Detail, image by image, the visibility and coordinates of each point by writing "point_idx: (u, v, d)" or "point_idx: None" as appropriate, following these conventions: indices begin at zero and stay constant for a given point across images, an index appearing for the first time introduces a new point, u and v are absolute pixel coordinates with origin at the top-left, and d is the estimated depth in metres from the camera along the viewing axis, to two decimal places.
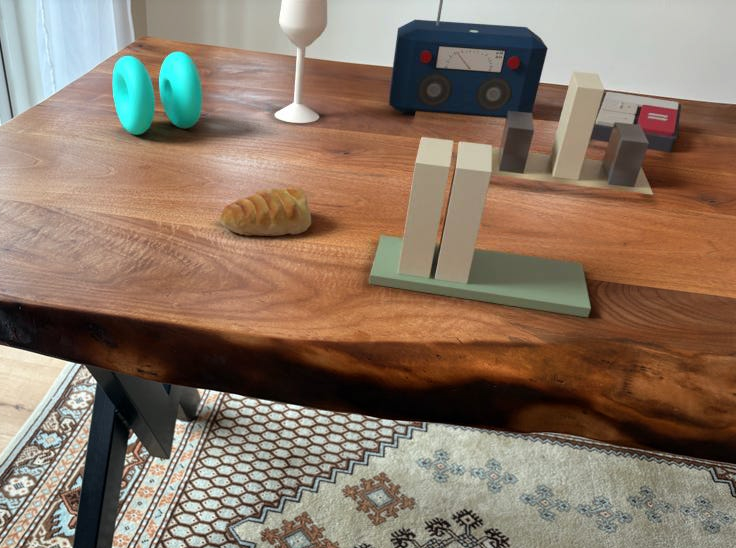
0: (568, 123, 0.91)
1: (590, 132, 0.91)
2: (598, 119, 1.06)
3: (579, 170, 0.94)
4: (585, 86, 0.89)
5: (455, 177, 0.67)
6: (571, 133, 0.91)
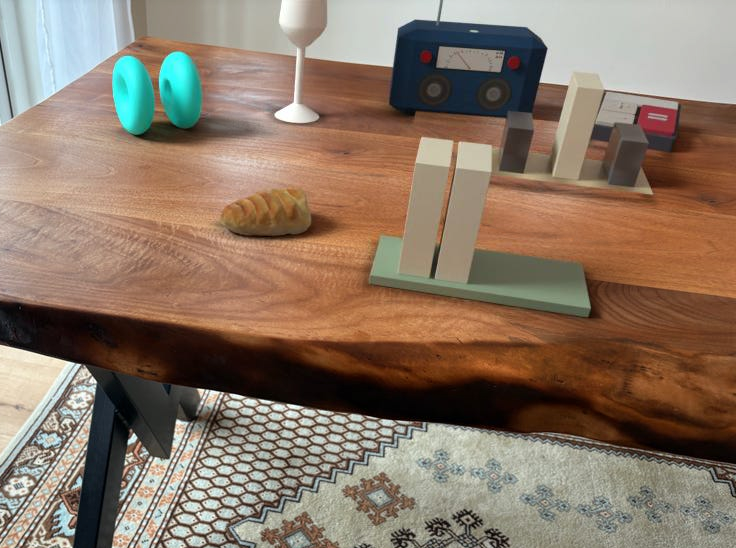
0: (568, 123, 0.91)
1: (590, 132, 0.91)
2: (598, 119, 1.06)
3: (579, 170, 0.94)
4: (585, 86, 0.89)
5: (455, 177, 0.67)
6: (571, 133, 0.91)
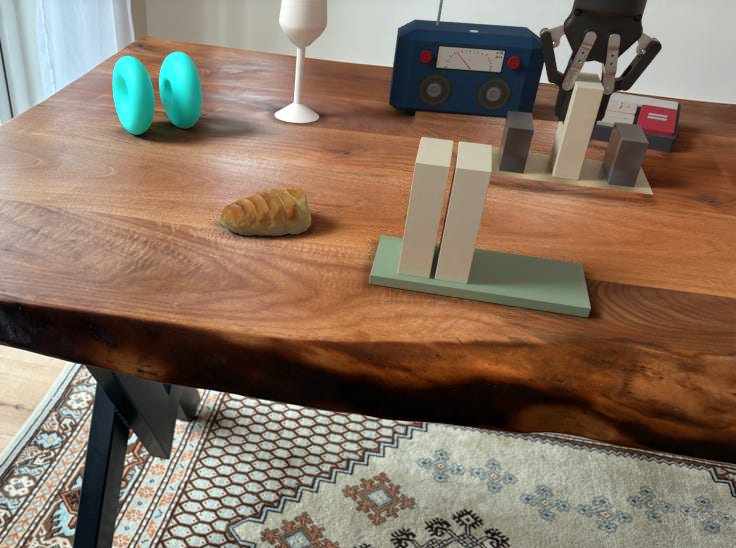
0: (568, 123, 0.91)
1: (590, 132, 0.91)
2: None
3: (579, 170, 0.94)
4: (585, 86, 0.89)
5: (455, 177, 0.67)
6: (571, 133, 0.91)
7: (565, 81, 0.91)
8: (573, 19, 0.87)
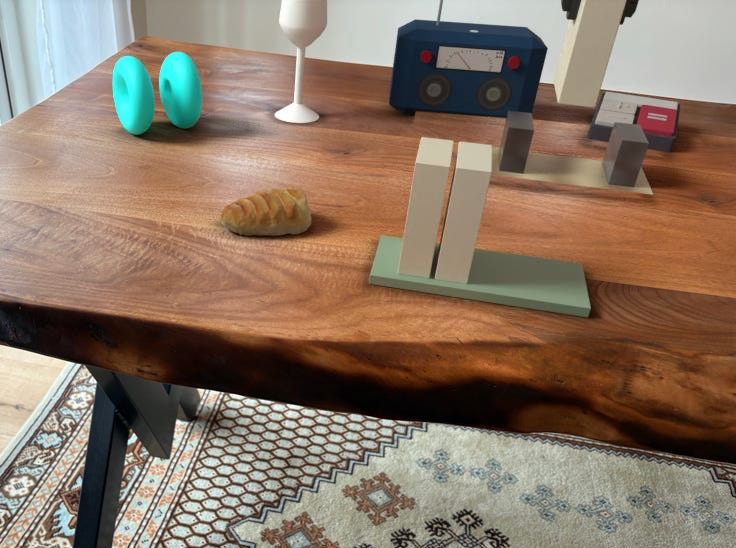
0: (582, 18, 0.61)
1: (615, 31, 0.60)
2: (597, 119, 1.06)
3: (597, 92, 0.63)
4: None
5: (455, 177, 0.67)
6: (586, 34, 0.61)
7: None
8: None
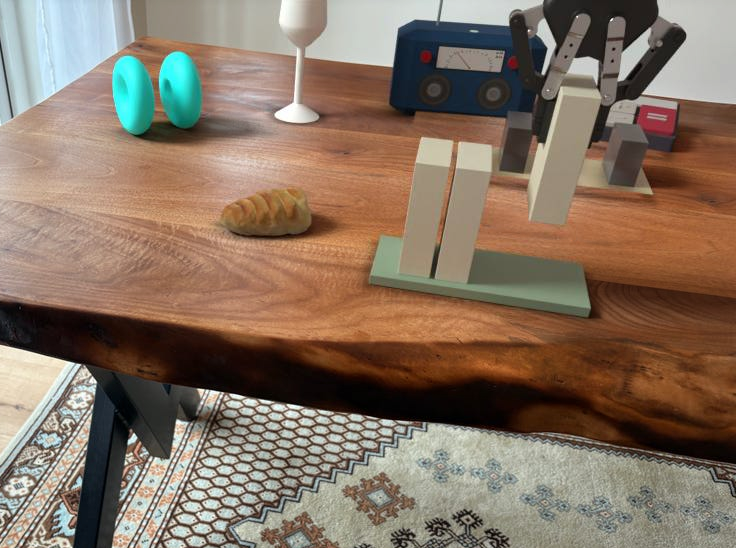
0: (550, 146, 0.63)
1: (581, 159, 0.63)
2: None
3: (566, 212, 0.66)
4: (574, 93, 0.61)
5: (455, 177, 0.67)
6: (554, 161, 0.64)
7: (546, 86, 0.63)
8: None
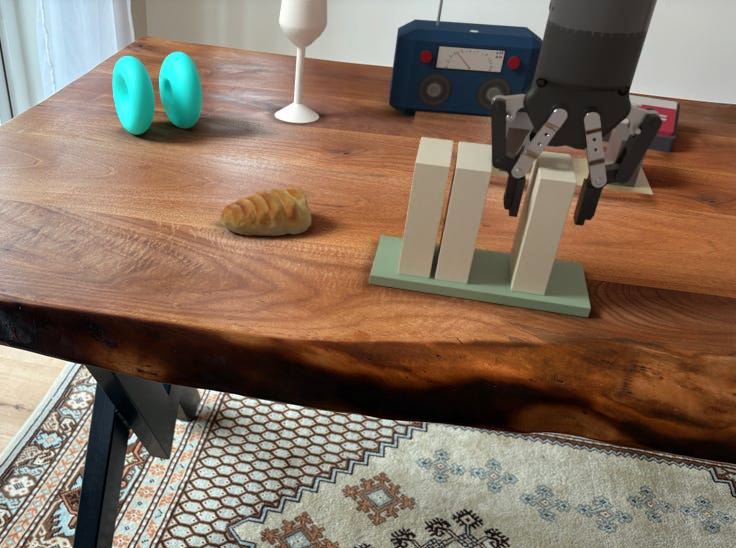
0: (529, 224, 0.67)
1: (559, 236, 0.67)
2: None
3: (545, 283, 0.70)
4: (551, 177, 0.65)
5: (455, 177, 0.67)
6: (534, 237, 0.68)
7: (516, 166, 0.67)
8: (535, 91, 0.63)
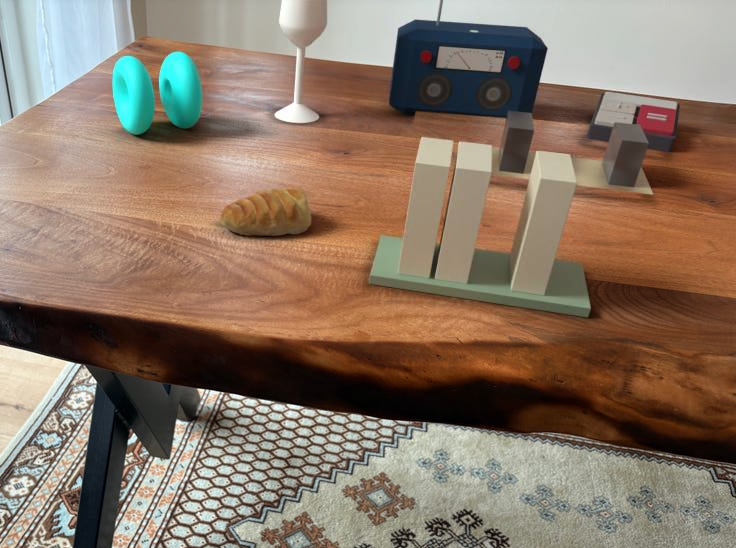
0: (529, 224, 0.67)
1: (559, 236, 0.67)
2: (597, 119, 1.06)
3: (545, 283, 0.70)
4: (551, 177, 0.65)
5: (455, 177, 0.67)
6: (534, 237, 0.68)
7: None
8: None
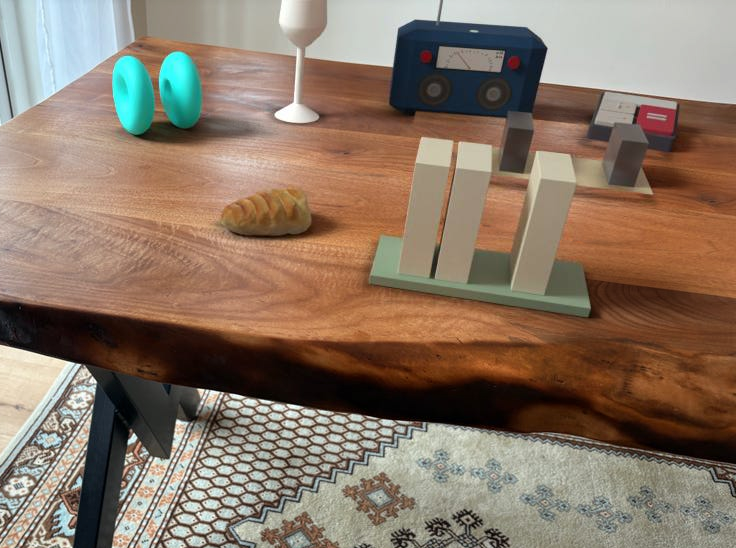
0: (529, 224, 0.67)
1: (559, 236, 0.67)
2: (597, 119, 1.06)
3: (545, 283, 0.70)
4: (551, 177, 0.65)
5: (455, 177, 0.67)
6: (534, 237, 0.68)
7: None
8: None
